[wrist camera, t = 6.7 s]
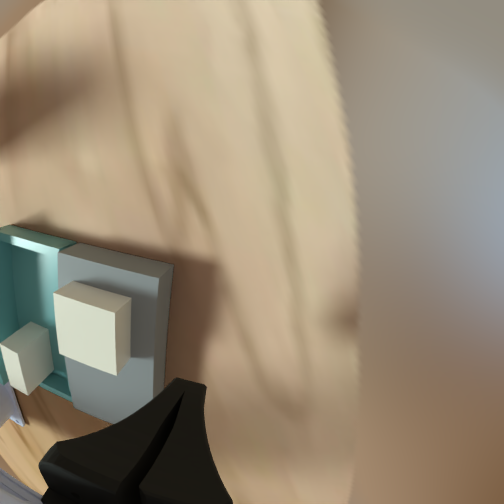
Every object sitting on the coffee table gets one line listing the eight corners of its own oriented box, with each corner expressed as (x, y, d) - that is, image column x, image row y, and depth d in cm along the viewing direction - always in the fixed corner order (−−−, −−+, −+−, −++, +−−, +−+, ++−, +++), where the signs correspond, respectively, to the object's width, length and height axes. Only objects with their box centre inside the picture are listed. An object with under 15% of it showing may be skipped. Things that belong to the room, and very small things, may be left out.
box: (24, 360, 22) (-1, 382, 18) (10, 224, 19) (-27, 235, 15) (84, 388, 22) (61, 417, 18) (76, 241, 18) (38, 257, 14)
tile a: (54, 369, 21) (37, 361, 21) (48, 329, 20) (30, 321, 20) (28, 395, 17) (10, 385, 17) (17, 353, 16) (-1, 343, 16)
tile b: (76, 338, 17) (59, 353, 15) (72, 280, 16) (53, 292, 14) (130, 357, 17) (116, 376, 15) (131, 297, 16) (114, 312, 14)
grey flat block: (87, 390, 22) (73, 407, 19) (79, 242, 18) (57, 252, 16) (163, 416, 21) (152, 437, 19) (173, 264, 18) (158, 278, 16)
